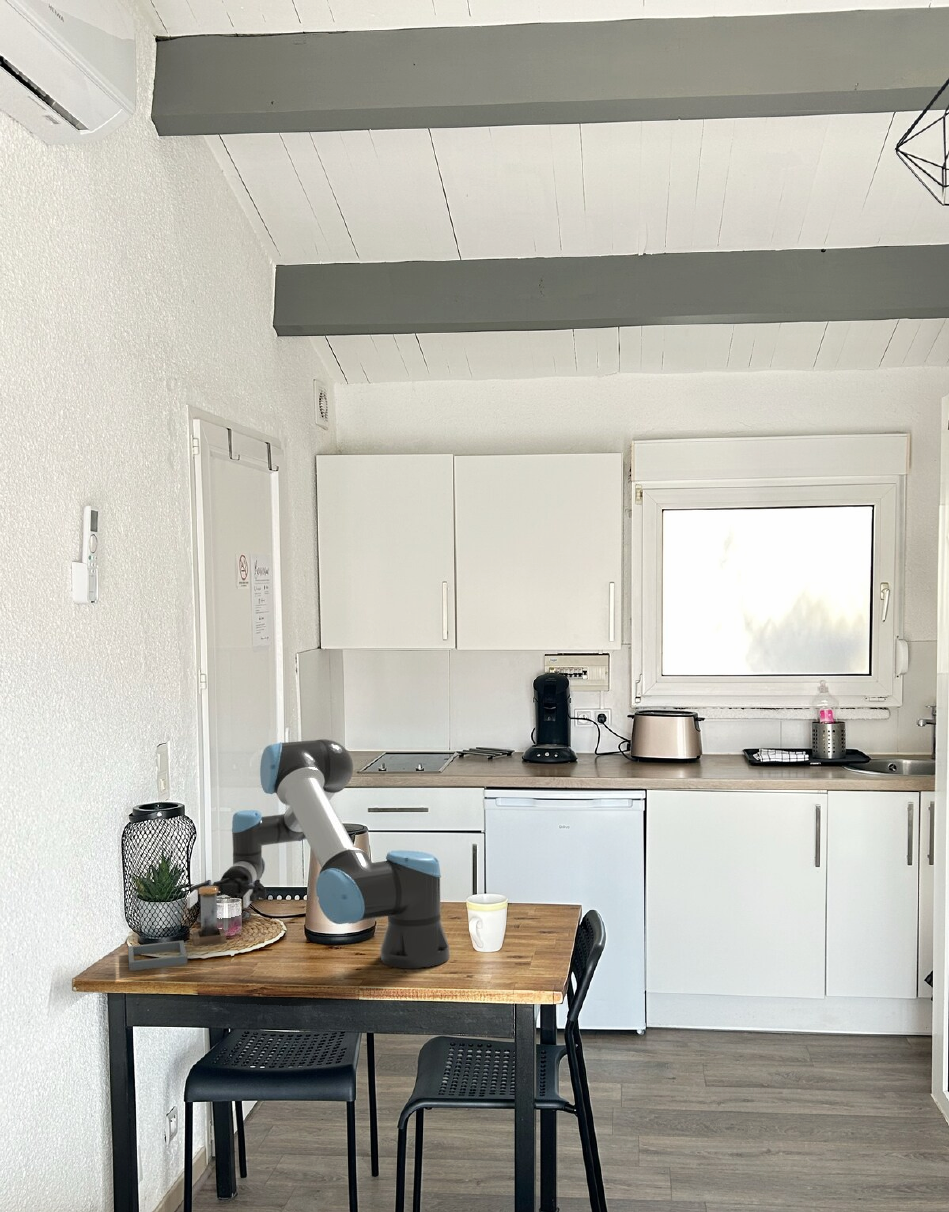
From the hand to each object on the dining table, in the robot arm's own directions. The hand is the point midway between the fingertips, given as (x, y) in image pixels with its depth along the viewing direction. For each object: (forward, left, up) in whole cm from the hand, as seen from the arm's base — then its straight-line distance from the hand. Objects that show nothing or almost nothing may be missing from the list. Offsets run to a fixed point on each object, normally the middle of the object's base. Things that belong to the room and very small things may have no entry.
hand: (216, 902), depth 270 cm
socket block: (-8, +2, -7) cm, 11 cm away
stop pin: (-8, +2, -7) cm, 10 cm away
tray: (-18, +14, -7) cm, 24 cm away
